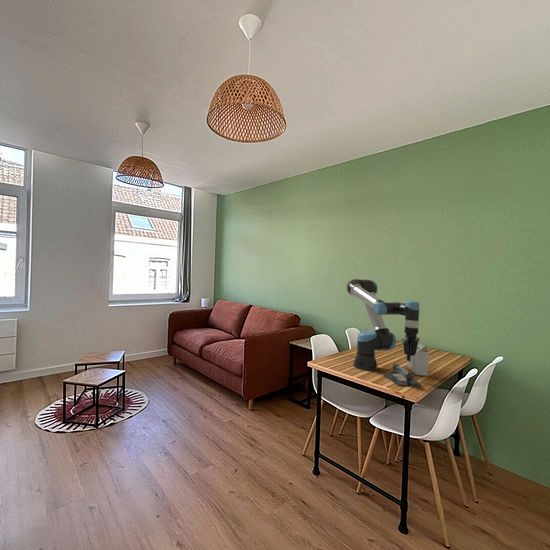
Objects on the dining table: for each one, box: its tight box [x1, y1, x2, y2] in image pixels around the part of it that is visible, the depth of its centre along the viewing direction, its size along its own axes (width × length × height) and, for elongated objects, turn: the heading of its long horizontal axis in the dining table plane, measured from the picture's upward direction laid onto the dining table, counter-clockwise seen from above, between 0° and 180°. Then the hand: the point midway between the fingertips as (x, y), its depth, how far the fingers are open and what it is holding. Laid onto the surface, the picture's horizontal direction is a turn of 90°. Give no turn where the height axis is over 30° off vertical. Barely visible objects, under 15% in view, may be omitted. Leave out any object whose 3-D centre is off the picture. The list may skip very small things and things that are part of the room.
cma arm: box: [392, 363, 414, 380], centre depth 172 cm, size 18×4×3 cm, turn 7°
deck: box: [383, 373, 422, 387], centre depth 172 cm, size 16×14×4 cm
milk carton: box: [410, 342, 430, 377], centre depth 186 cm, size 7×7×19 cm
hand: (409, 366), depth 175 cm, fingers closed
